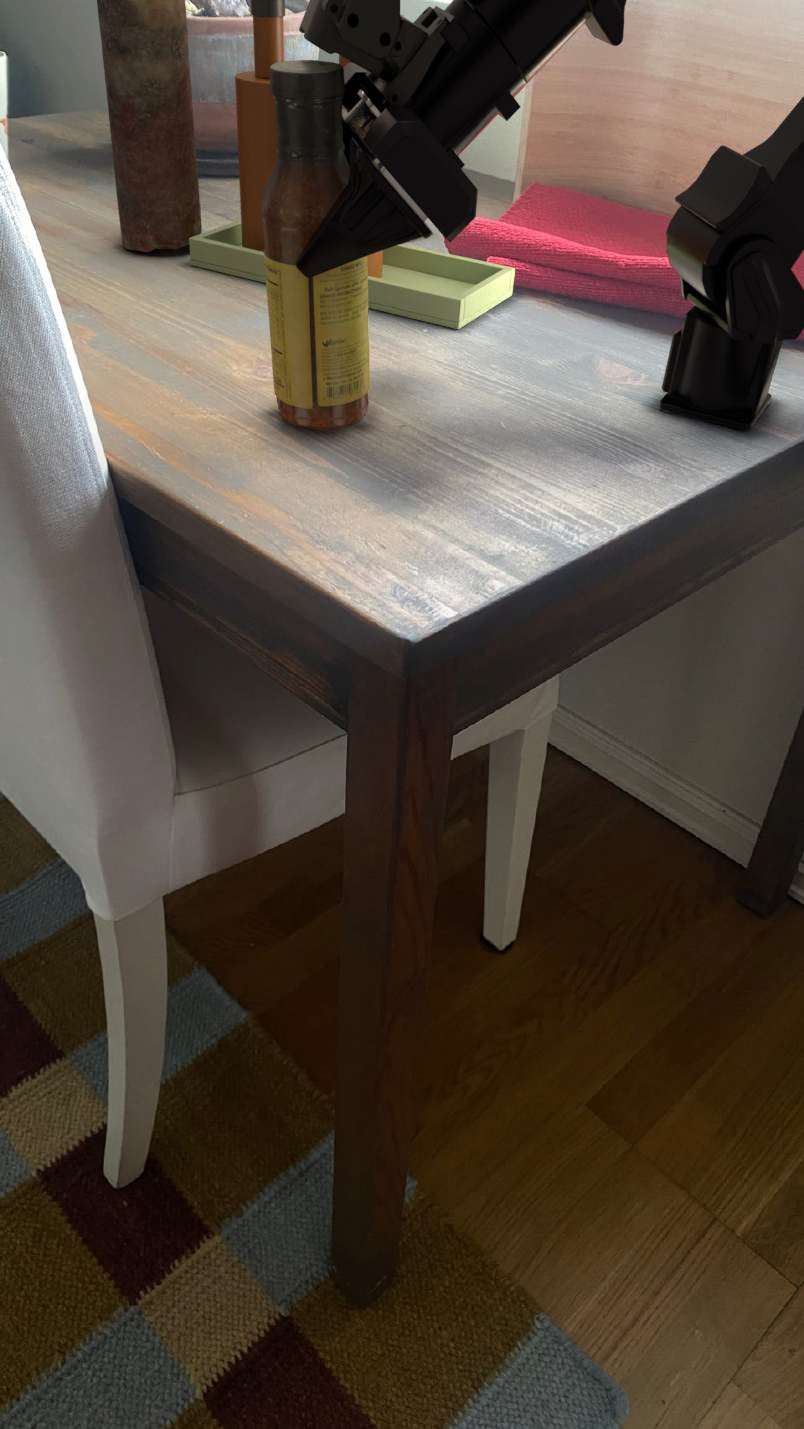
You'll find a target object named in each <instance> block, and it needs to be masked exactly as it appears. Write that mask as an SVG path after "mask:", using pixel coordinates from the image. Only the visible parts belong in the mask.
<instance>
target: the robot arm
mask: <svg viewBox="0 0 804 1429" xmlns="http://www.w3.org/2000/svg"><path fill="white" fill-rule="evenodd" d="M626 6H627V0H451V2H450V3H449V4H448V5H447V6H446V8H445V9H442V8H441V7H439V6H438V5H436V6H434V7H431V6H428V7H426V8H425V9H424V10H423V11H422V12H421V13H420V14H419V16H418V17H417V18H415V20H414V21H411V20H409V19H408V18H406V17H405V18H404V17H403V16H401V15H402V14H401V0H309V1H308V4H307V6H306V10H305V12H304V14H303V17H302V19H301V23H300V24H299V27H298V32H300V33H302V34H303V38H304V39H305V40H306V41H307V42H309V44H312V45H313V46H314V47H317V48H318V49H320V50H321V51H323V52H325V53H327V54H329V55H333V54H337V55H338V56H339V55H341V56H343V57H344V58H346V59H348V60H349V61H351V62H353V63H348V64H347V65H346V66H345V67H344V68H343V69H344V79H345V93H344V96H343V100H342V105H343V106H344V107H343V108H342V127H343V143H344V145H345V148H344V155H345V158H346V160H347V162H348V165H349V167H350V169H349V181H348V184H347V185H346V187H345V188H344V190H343V191H342V193H341V194H340V196H339V197H338V199H337V200H336V202H335V203H334V204H333V206H332V207H331V209H330V210H329V212H328V213H327V215H326V216H325V218H324V219H323V221H322V222H321V224H320V225H319V227H318V228H317V230H316V231H315V232H314V234H313V235H312V237H311V238H310V240H309V241H308V243H307V245H306V246H305V248H304V249H303V251H302V252H301V254H300V256H299V257H298V259H297V260H296V267H297V269H298V270H299V271H300V272H301V273H302V274H303V275H304V276H305V277H307V278H311V277H314V276H316V275H319V274H322V273H324V272H327V271H329V270H332V269H334V268H337V267H340V266H342V265H345V264H347V263H350V262H352V261H355V260H358V259H360V258H363V257H366V256H368V255H371V254H374V253H376V252H379V251H382V250H385V249H388V248H391V247H394V246H397V245H400V244H406V243H408V242H409V243H410V242H411V241H414V240H417V239H420V238H421V239H422V238H424V239H425V240H427V239H429V238H430V237H432V236H433V235H434V232H433V231H432V229H431V228H430V226H429V225H428V223H427V222H426V221H427V220H429V221H430V222H431V223H432V224H433V226H434V227H435V228H436V229H437V230H438V232H440V234H441V235H442V236H443V237H444V238H445V240H447V242H448V243H449V244H451V243H452V242H453V241H454V240H455V239H456V238H457V237H458V236H459V235H460V234H461V233H462V232H463V231H464V230H465V229H466V228H467V227H468V226H469V225H470V224H471V223H472V222H473V221H474V220H475V219H476V218H477V209H478V199H479V198H478V197H479V189H478V187H477V186H476V185H475V183H474V182H472V180H471V179H470V177H468V175H467V174H466V173H465V172H464V171H463V168H464V167H465V166H466V165H465V163H464V162H463V161H462V159H461V158H460V157H459V156H460V155H461V154H462V153H463V152H464V151H465V150H466V149H467V147H469V145H470V144H472V142H474V140H475V139H476V138H477V137H478V136H479V135H480V134H481V133H482V132H483V131H484V130H485V129H486V128H487V126H488V125H490V123H492V121H493V120H494V119H495V118H496V117H497V116H500V117H501V118H502V119H503V120H504V121H506V122H507V121H509V120H510V119H511V118H512V117H513V116H514V114H516V112H517V111H518V110H519V109H521V105H520V104H519V102H518V101H517V99H516V98H515V97H516V96H517V95H518V94H519V93H520V92H521V91H522V90H523V89H524V88H525V87H526V85H528V84H529V83H530V81H531V80H532V79H533V78H534V77H535V76H536V75H537V74H538V73H539V72H540V71H541V70H542V69H543V68H544V66H545V65H547V64H548V63H549V61H550V60H551V59H552V58H553V57H554V56H555V55H556V54H557V53H558V52H559V51H560V50H561V49H562V48H563V47H564V46H565V44H566V43H567V42H569V41H570V39H571V38H572V37H573V36H574V35H575V34H576V33H577V32H578V31H579V30H580V29H581V28H582V27H583V26H584V25H585V26H586V28H587V29H588V31H589V33H590V34H591V36H592V37H593V38H595V39H598V40H600V41H602V42H604V43H607V44H609V45H611V46H614V47H618V46H620V45H621V44H622V43H623V41H624V37H625V35H624V34H625V11H626ZM674 201H675V203H677V204H678V205H680V206H679V207H678V208H677V210H676V212H675V213H674V214H673V216H672V218H671V219H670V221H669V223H668V226H667V229H666V233H665V236H666V250H665V252H666V257H667V259H668V263H669V266H670V267H671V268H672V270H673V271H674V272H675V273H676V275H678V276H679V277H678V278H679V285H680V293H681V297H682V298H683V299H684V300H686V301H689V302H690V303H691V304H693V305H694V306H692V308H690V309H689V310H688V311H687V312H686V313H685V317H684V321H683V325H682V326H681V327H680V328H678V330H677V331H675V332H674V333H673V335H672V339H671V343H670V348H669V352H668V358H667V360H666V366H665V370H664V376H663V380H662V384H661V390H662V392H664V393H665V395H663V396H662V397H661V399H660V400H659V404H658V407H659V408H660V409H661V410H663V411H668V412H671V413H676V414H679V415H684V416H687V417H691V418H696V419H700V420H704V421H707V422H711V423H715V424H719V425H724V426H728V427H732V428H736V429H739V430H744V431H748V430H751V429H752V428H753V427H754V424H756V422H757V421H758V420H759V418H760V417H761V415H762V414H763V413H764V411H765V410H766V408H767V407H768V405H769V404H770V402H771V399H772V394H771V393H770V392H769V390H770V387H771V384H772V380H773V376H774V373H775V369H776V366H777V363H778V359H779V356H780V352H781V348H782V345H783V342H784V341H786V340H797V339H799V337H800V335H801V334H802V332H803V331H804V288H803V286H802V284H801V283H800V281H799V280H798V278H797V276H796V274H795V273H794V271H793V270H792V269H793V267H794V266H795V264H796V263H797V262H798V260H799V258H800V257H801V255H802V254H803V252H804V95H802V97H801V98H800V100H799V101H798V102H797V103H796V105H795V106H794V107H793V108H792V109H791V111H790V112H789V113H788V115H786V117H785V118H784V119H783V121H782V122H781V123H780V124H779V125H778V127H776V129H775V130H774V132H773V133H772V134H771V135H769V136H768V138H766V139H765V140H764V141H763V142H761V143H759V144H758V145H757V146H755V147H753V148H751V149H750V150H748V151H746V152H745V153H743V154H742V153H740V152H738V151H736V150H734V149H732V148H730V147H729V146H727V145H725V144H722V145H720V146H719V147H718V148H717V149H716V150H715V151H714V152H713V153H712V155H711V156H710V157H709V159H708V161H707V162H706V164H705V166H704V168H703V169H702V170H701V172H700V173H699V175H698V177H697V178H696V179H695V180H694V182H692V183H691V185H690V186H689V187H687V189H685V190H683V191H682V192H681V193H679V194H677V195H676V196H675V198H674Z"/></svg>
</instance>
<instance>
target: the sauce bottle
mask: <svg viewBox="0 0 804 1429" xmlns="http://www.w3.org/2000/svg"><path fill="white" fill-rule="evenodd" d="M270 90H271V93H272V95H273V98H274V100H275V110H276V127H277V143H276V150H277V161H276V163H275V166H274V168H273V170H272V172H271V174H270V176H269V178H268V180H267V182H266V185H265V187H264V189H263V194H262V217H263V218H262V220H263V227H264V242H265V249H264V262H265V275H266V283H265V285H266V298H267V310H268V324H269V325H268V326H269V340H270V352H271V353H270V354H271V364H272V365H271V366H272V368H271V370H272V380H273V391H274V392H273V393H274V395H275V396H276V403H277V409H278V410H279V413H280V415H281V416H282V418H283V420H285V421H286V422H287V423H288V424H289V425H292V426H297V427H303V428H308V429H311V430H314V431H315V430H317V431H325V430H326V431H327V430H328V431H331V430H332V431H333V430H339V429H345V428H347V427H350V426H352V425H355V424H357V423H360V422H361V421H362V420H363V418H364V417H365V416H366V414H367V412H368V409H369V403H370V402H369V401H370V400H369V391H370V387H371V381H370V380H371V378H370V376H371V375H370V335H369V334H370V332H369V331H370V330H369V329H370V328H369V308H368V266H367V256H366V257H363V258H360V259H358V260H355V261H352V262H350V263H347V264H345V265H342V266H340V267H337V268H334V269H332V270H329V271H327V272H324V273H322V274H319V275H316V276H314V277H311V278H307V277H305V276H304V275H303V274H302V273H301V272H300V271H299V270H298V269H297V267H296V260H297V259H298V257H299V256H300V254H301V252H302V251H303V249H304V248H305V246H306V245H307V243H308V241H309V240H310V238H311V237H312V235H313V234H314V232H315V231H316V230H317V228H318V227H319V225H320V224H321V222H322V221H323V219H324V218H325V216H326V215H327V213H328V212H329V210H330V209H331V207H332V206H333V204H334V203H335V202H336V200H337V199H338V197H339V196H340V194H341V193H342V191H343V190H344V188H345V187H346V185H347V184H348V181H349V169H350V167H349V165H348V162H347V160H346V158H345V155H344V148H345V145H344V143H343V127H342V100H343V96H344V93H345V79H344V69H343V66H342V65H340V64H339V62H333V61H325V60H319V59H301V60H300V59H299V60H284V62H279V63H275V64H273V65H272V66H271V67H270Z"/></svg>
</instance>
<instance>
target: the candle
mask: <svg viewBox="0 0 804 1429" xmlns="http://www.w3.org/2000/svg"><path fill="white" fill-rule="evenodd" d="M96 6H97V16H98V26H99V33H100V34H99V35H100V41H101V52H102V53H101V54H102V64H103V72H104V82H105V89H106V91H105V92H106V101H107V109H108V120H109V121H108V122H109V132H110V141H111V142H110V143H111V149H112V159H113V170H114V181H115V191H116V199H117V200H116V201H117V210H118V218H119V226H120V227H119V228H120V237H121V242H122V246H123V248H125V249H126V250H129V251H139V252H144V253H149V252H152V251H154V250H173V251H174V250H178V249H181V248H185V247H187V246H188V245H189V238H191V237H193V236H196V235H199V234H202V233H203V232H202V231H203V227H202V212H201V199H200V198H201V197H200V186H199V184H200V183H199V172H198V170H199V169H198V157H197V146H196V145H197V144H196V134H195V132H196V131H195V120H194V118H195V117H194V106H193V89H192V81H191V80H192V79H191V62H190V48H189V47H190V46H189V34H188V33H189V32H188V19H187V17H188V16H187V5H186V0H96Z"/></svg>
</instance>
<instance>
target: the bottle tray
mask: <svg viewBox="0 0 804 1429" xmlns="http://www.w3.org/2000/svg"><path fill="white" fill-rule="evenodd" d="M250 15H251V16H252V32H253V33H252V34H253V36H252V37H253V62H254V71H253V70H251V71H242V72H239V73H236V74H235V75H234V82H235V83H234V89H235V109H236V110H235V111H236V130H237V131H236V132H237V133H236V135H237V136H236V137H237V157H238V179H239V180H238V182H239V203H240V204H239V206H240V219H239V220H235V221H232V222H229V223H227V224H224V225H221V226H219V227H216V228H213V229H210V230H207V231H205V232H201V234H199V235H196V236H193V237H191V238H189V244H188V245H189V255H190V256H189V257H190V266H193V267H197V268H201V269H206V270H210V271H213V272H218V273H221V274H226V275H230V276H233V277H234V276H235V277H238V278H243V279H247V280H251V281H256V282H260V283H264V284H266V275H265V262H264V249H265V242H264V227H263V220H262V218H263V217H262V194H263V189H264V187H265V185H266V182H267V180H268V178H269V176H270V174H271V172H272V170H273V168H274V166H275V163H276V161H277V150H276V143H277V127H276V110H275V100H274V98H273V95H272V93H271V90H270V67H271V66H272V65H273V64H275V63H279V62H284V61H285V42H284V41H285V38H284V37H285V36H284V35H285V33H284V31H285V30H284V17H286V0H250ZM348 63H353V62H351V61H349V60H348V59H346V58H344V57H343V56H341V55H339V54H338V64H340V65H342V66H343V68H344V67H345V66H346V65H347V64H348ZM343 107H344V106H343V105H342V108H343ZM367 266H368V309H371V310H374V311H375V310H376V311H380V312H384V313H387V314H388V313H389V314H392V315H396V316H401V317H405V318H409V319H413V320H417V321H422V322H426V323H430V324H434V325H437V326H442V327H447V328H451V329H455V330H460V329H462V328H463V327H464V326H466V325H468V324H469V323H471V322H473V321H474V320H476V319H477V318H479V317H480V316H482V315H484V314H485V313H487V312H488V311H490V310H491V309H493V308H495V307H496V306H497V305H499V304H501V303H502V302H504V301H505V300H507V299H509V298H510V297H512V296H513V290H514V285H515V284H514V283H515V282H514V281H515V275H516V267H513V266H508V265H503V264H498V263H493V262H490V261H489V262H488V261H484V260H481V259H474V258H470V257H466V256H461V255H457V254H456V255H455V254H453V253H452V254H451V253H447V252H442V251H437V250H433V249H428V248H424V247H419V246H415V245H411V244H406V243H403V244H400V245H397V246H394V247H391V248H388V249H385V250H382V251H379V252H376V253H374V254H371V255H368V256H367Z"/></svg>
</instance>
